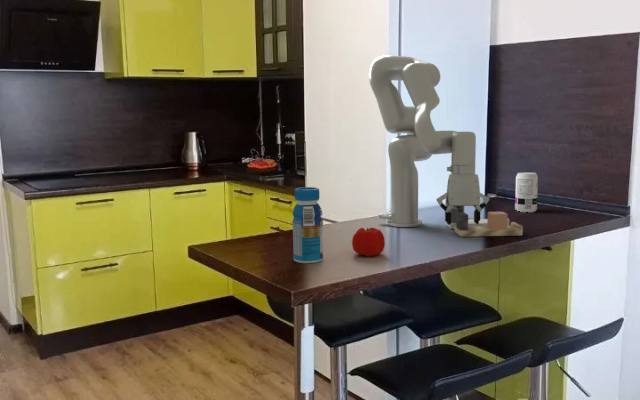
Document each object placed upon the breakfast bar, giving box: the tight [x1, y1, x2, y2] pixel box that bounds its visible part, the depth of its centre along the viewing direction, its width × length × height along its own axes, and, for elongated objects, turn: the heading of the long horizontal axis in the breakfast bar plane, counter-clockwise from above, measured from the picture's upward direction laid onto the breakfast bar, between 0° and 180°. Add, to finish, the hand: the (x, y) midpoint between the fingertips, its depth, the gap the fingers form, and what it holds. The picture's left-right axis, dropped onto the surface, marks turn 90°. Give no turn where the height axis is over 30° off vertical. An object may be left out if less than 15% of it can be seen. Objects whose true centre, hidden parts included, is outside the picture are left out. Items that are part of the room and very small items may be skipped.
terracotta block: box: [486, 211, 509, 230], centre depth 204 cm, size 5×5×5 cm
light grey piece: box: [444, 206, 510, 230], centre depth 217 cm, size 20×8×7 cm, turn 92°
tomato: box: [351, 227, 386, 258], centre depth 178 cm, size 9×9×8 cm
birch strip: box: [453, 211, 524, 238], centre depth 204 cm, size 20×8×7 cm, turn 92°
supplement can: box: [514, 172, 539, 213], centre depth 247 cm, size 8×8×15 cm
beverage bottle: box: [291, 186, 324, 264], centre depth 171 cm, size 8×8×20 cm
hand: (462, 223), depth 203 cm, fingers open, 8 cm apart
